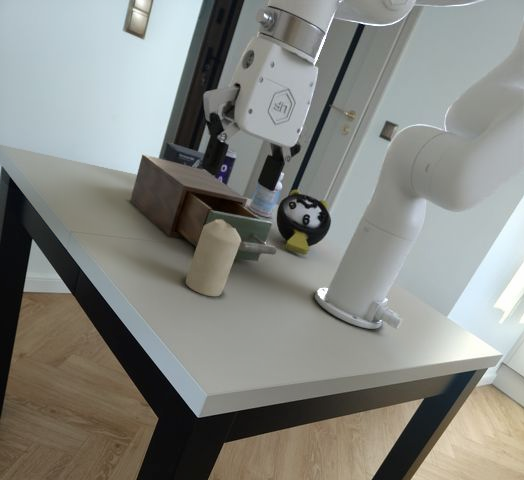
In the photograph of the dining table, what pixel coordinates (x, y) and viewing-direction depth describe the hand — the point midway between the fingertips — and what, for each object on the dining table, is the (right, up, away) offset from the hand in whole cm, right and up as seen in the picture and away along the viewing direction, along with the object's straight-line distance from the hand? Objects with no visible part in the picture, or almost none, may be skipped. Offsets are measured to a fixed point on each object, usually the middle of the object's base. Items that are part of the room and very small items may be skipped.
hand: (238, 180), depth 67 cm
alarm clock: (+10, +2, +49) cm, 50 cm away
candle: (-6, -13, +7) cm, 16 cm away
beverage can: (-10, +16, +60) cm, 63 cm away
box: (-15, +11, +46) cm, 50 cm away
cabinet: (-13, +2, +31) cm, 33 cm away
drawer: (-5, -4, +23) cm, 24 cm away
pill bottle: (+2, +13, +65) cm, 66 cm away
